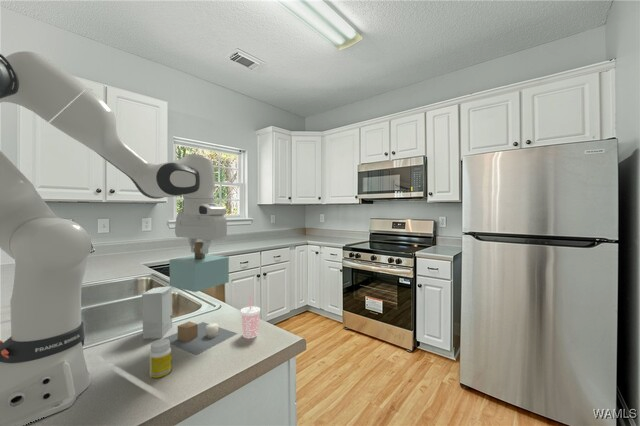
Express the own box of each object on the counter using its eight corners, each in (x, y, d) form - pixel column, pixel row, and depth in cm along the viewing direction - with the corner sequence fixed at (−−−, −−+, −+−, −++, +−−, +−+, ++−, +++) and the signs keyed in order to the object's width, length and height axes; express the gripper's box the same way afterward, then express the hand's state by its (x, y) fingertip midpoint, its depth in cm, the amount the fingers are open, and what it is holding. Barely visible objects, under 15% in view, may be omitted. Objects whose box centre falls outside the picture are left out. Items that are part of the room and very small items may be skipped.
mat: (196, 358, 76) (196, 340, 76) (160, 343, 84) (160, 326, 84) (237, 336, 89) (237, 321, 89) (202, 324, 97) (202, 310, 97)
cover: (195, 292, 78) (195, 246, 78) (169, 285, 84) (169, 243, 84) (228, 282, 89) (228, 241, 88) (203, 277, 94) (203, 239, 94)
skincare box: (162, 341, 86) (162, 293, 85) (141, 342, 85) (140, 294, 84) (173, 329, 94) (172, 285, 94) (153, 330, 93) (153, 286, 93)
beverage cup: (236, 341, 86) (236, 296, 86) (246, 332, 92) (246, 290, 92) (254, 343, 84) (254, 297, 84) (263, 334, 90) (263, 291, 90)
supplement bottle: (175, 375, 69) (175, 341, 68) (155, 385, 65) (155, 349, 64) (165, 368, 71) (165, 336, 71) (145, 377, 67) (145, 343, 67)
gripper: (169, 208, 88) (169, 251, 88) (213, 208, 78) (213, 258, 78) (187, 208, 94) (187, 249, 94) (230, 208, 83) (230, 254, 84)
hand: (199, 253), depth 86 cm, fingers closed on cover, 3 cm apart
